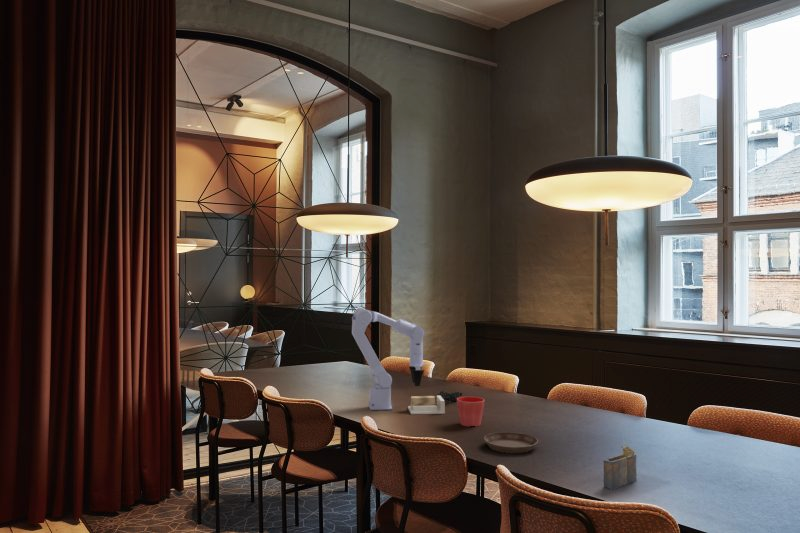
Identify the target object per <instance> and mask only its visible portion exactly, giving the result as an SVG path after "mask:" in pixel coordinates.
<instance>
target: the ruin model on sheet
mask: <svg viewBox="0 0 800 533" xmlns="http://www.w3.org/2000/svg"><path fill="white" fill-rule="evenodd" d="M621 448H622V454H620V455H616V456H612V457H608V460H606V459H603V487H604V488H606V487H607V489H609V488H610V490H614V488H615V489H618V488H620V486H621V487H624V486H626V485H629V484H631V482H632V483H634V481H635V482H637V454H636V453H635V450H633V449H632V448H630V447H629V446H627V445H625V446H623V445H622V446H621ZM628 483H629V484H628ZM625 484H626V485H625ZM623 485H624V486H623ZM617 487H618V488H617Z"/></svg>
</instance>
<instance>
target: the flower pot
mask: <svg viewBox="0 0 800 533" xmlns="http://www.w3.org/2000/svg"><path fill="white" fill-rule="evenodd" d="M456 404H457V412H458V418H459V423H460V425H461V426H462V427H463V426H464V427H470V426H475V427H479V426H481V424H482V418H483V413H484V407H485V399H484V398H483V397H478V396H460V397H459V398H457V401H456Z"/></svg>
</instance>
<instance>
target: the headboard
mask: <svg viewBox="0 0 800 533" xmlns="http://www.w3.org/2000/svg"><path fill="white" fill-rule="evenodd" d="M436 395H437V394H436ZM436 401H437V403H436V404H437V405H433V406H413V410H411V405H408V406H407V408H408V411H409V413H410V414H411V415H438V414H439V415H440V414H441V415H442V414H446V410H445V409H446V405H445V404H446V402H445V401H444V399H443V398H442V397H441V396H440V395H437V399H436Z"/></svg>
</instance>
